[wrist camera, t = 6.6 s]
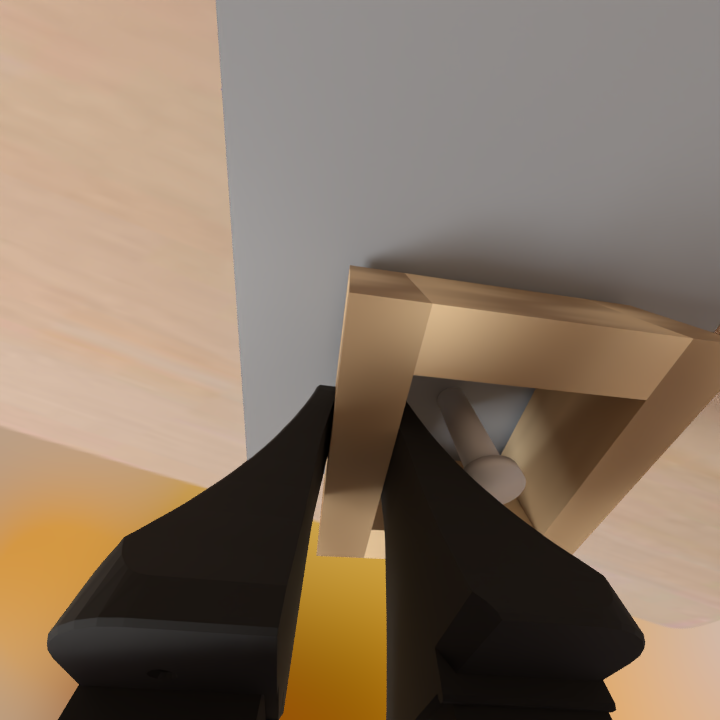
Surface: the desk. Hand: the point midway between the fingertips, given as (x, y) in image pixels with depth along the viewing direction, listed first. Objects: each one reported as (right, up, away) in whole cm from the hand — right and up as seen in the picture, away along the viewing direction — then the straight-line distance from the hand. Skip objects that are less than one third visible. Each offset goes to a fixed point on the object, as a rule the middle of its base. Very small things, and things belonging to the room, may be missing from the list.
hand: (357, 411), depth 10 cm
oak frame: (+4, 0, +1) cm, 4 cm away
